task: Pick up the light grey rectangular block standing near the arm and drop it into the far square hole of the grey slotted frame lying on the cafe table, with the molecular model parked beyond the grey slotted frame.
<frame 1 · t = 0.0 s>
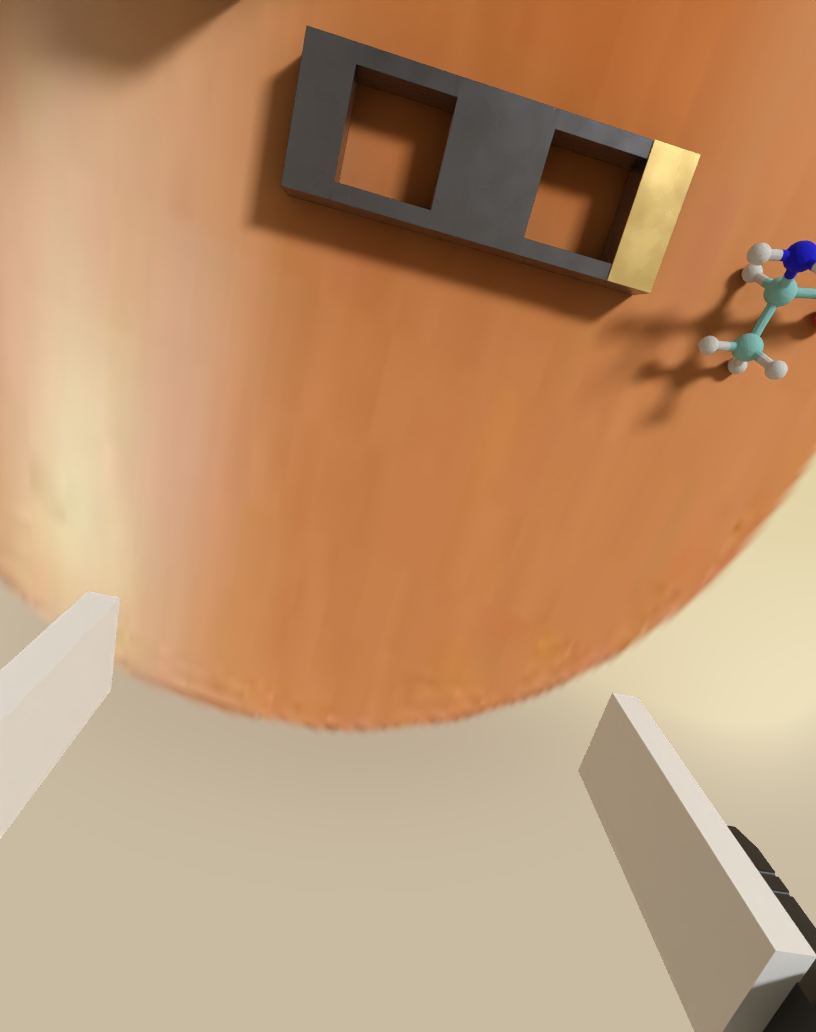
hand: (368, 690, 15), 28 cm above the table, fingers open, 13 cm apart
grey slotted frame: (484, 180, 35), on the table
molecular model: (758, 299, 39), on the table
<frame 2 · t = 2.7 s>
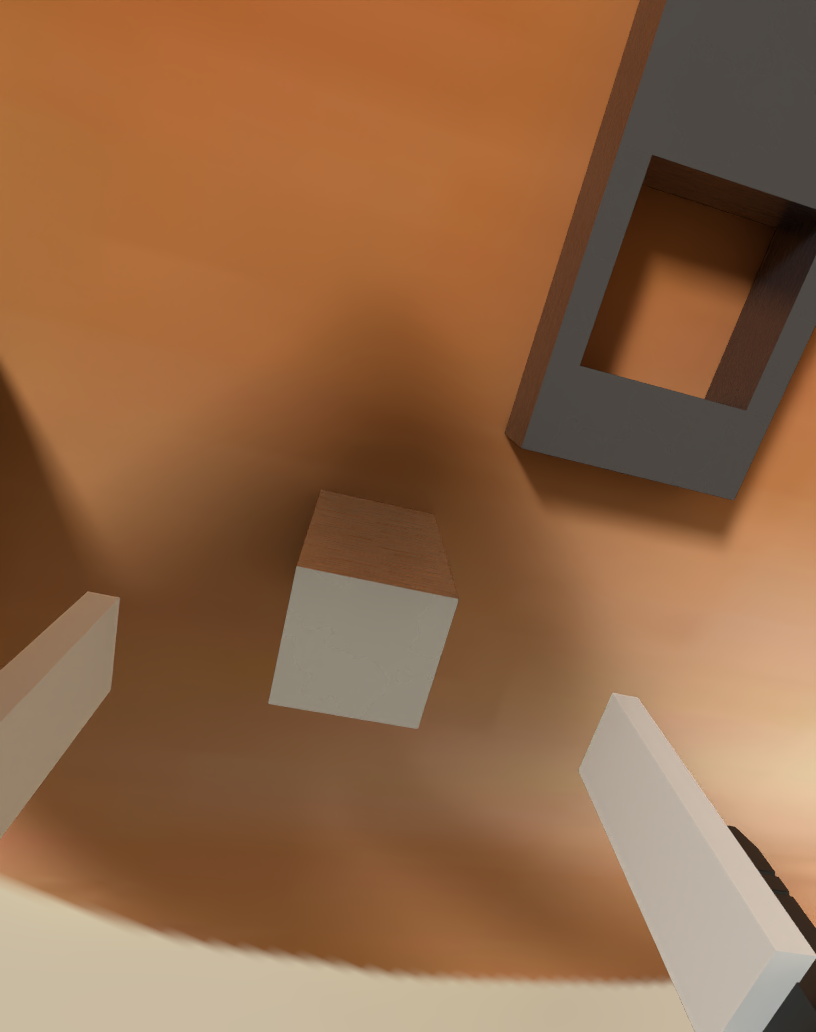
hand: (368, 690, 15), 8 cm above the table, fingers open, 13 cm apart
grey slotted frame: (737, 99, 18), on the table
light grey rectangular block: (365, 553, 22), on the table
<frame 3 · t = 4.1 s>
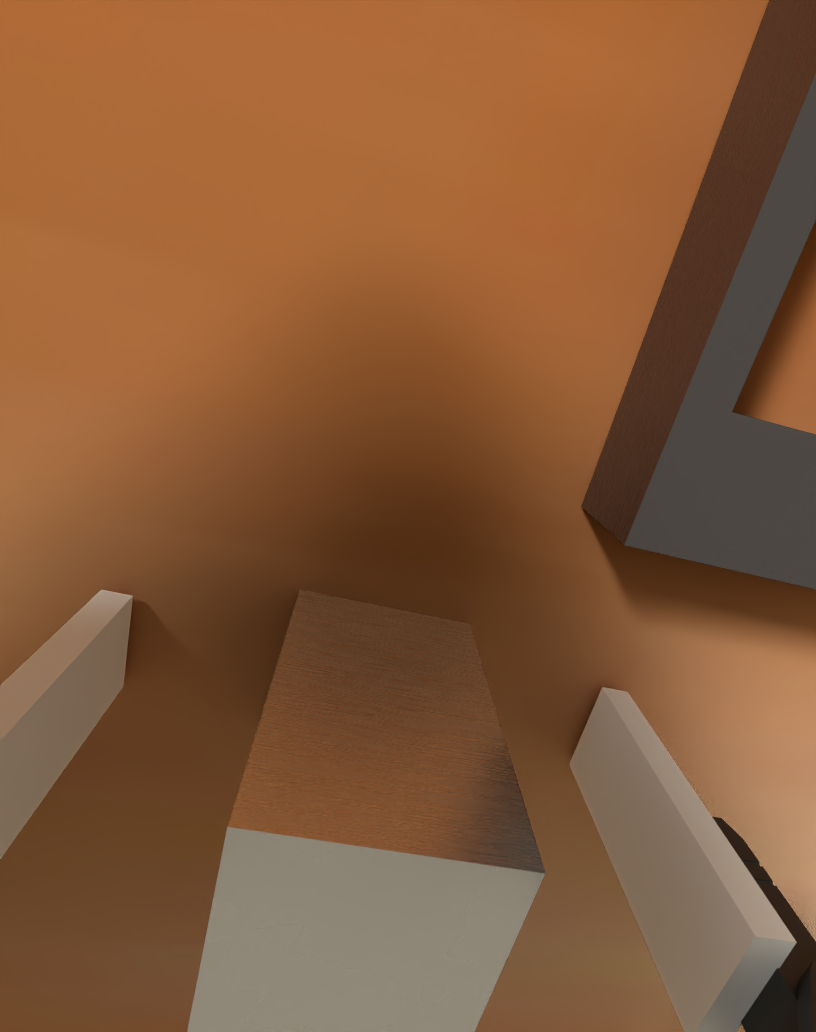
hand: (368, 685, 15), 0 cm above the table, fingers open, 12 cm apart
light grey rectangular block: (367, 678, 15), on the table
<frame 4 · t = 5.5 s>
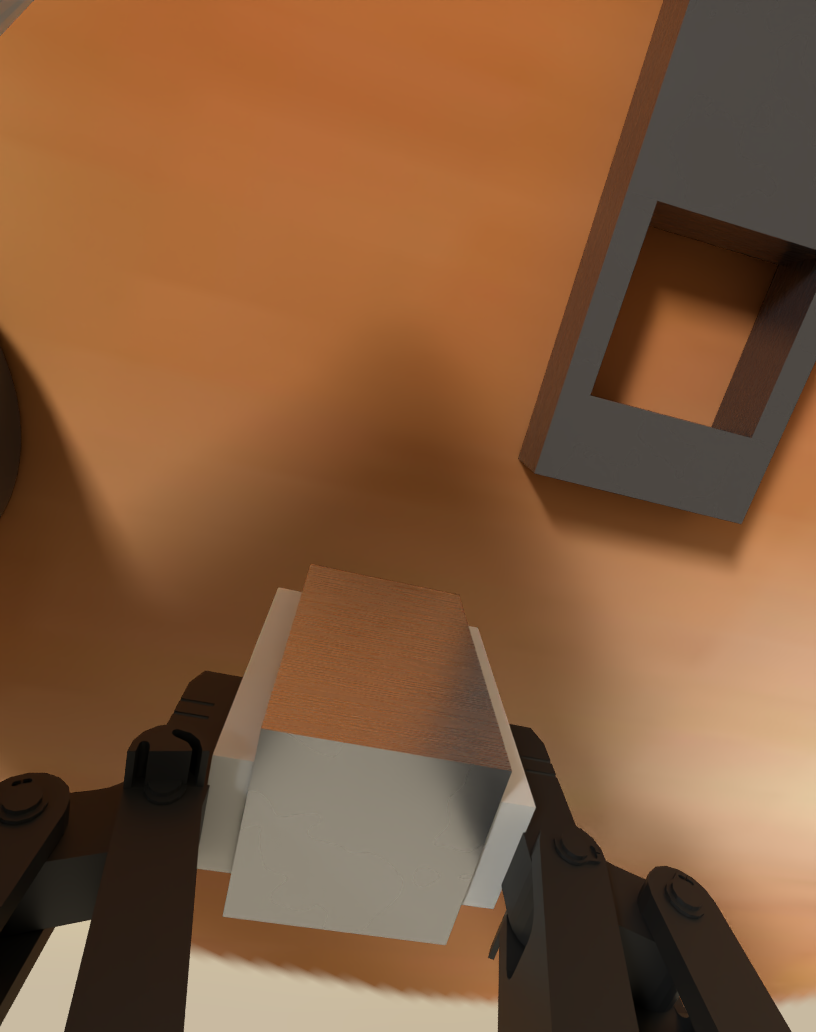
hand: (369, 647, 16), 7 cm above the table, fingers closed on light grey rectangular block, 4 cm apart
grey slotted frame: (738, 146, 19), on the table
light grey rectangular block: (369, 644, 17), point 6 cm above the table, touching gripper
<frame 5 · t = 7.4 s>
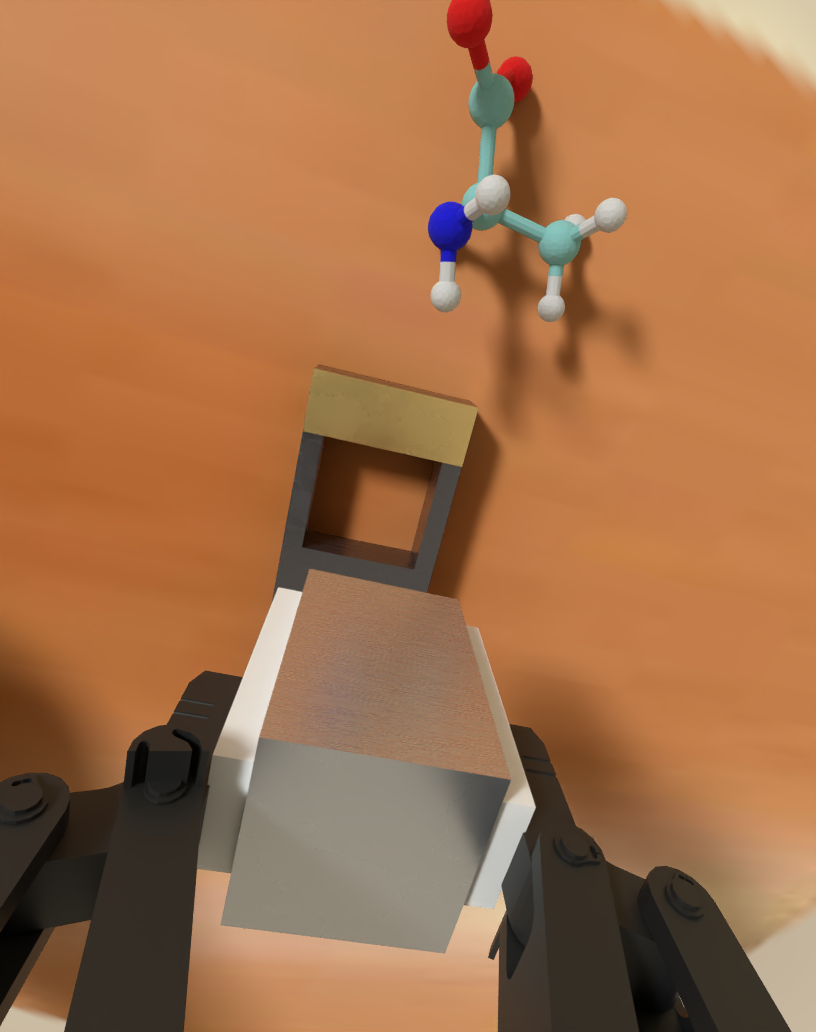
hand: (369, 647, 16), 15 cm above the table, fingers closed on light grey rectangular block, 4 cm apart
grey slotted frame: (349, 587, 32), on the table
molecular model: (479, 204, 26), on the table
light grey rectangular block: (368, 649, 17), point 15 cm above the table, touching gripper
when the fingers open (4 cm above the table, at t = 9.7 s): light grey rectangular block drops 3 cm, resting in grey slotted frame.
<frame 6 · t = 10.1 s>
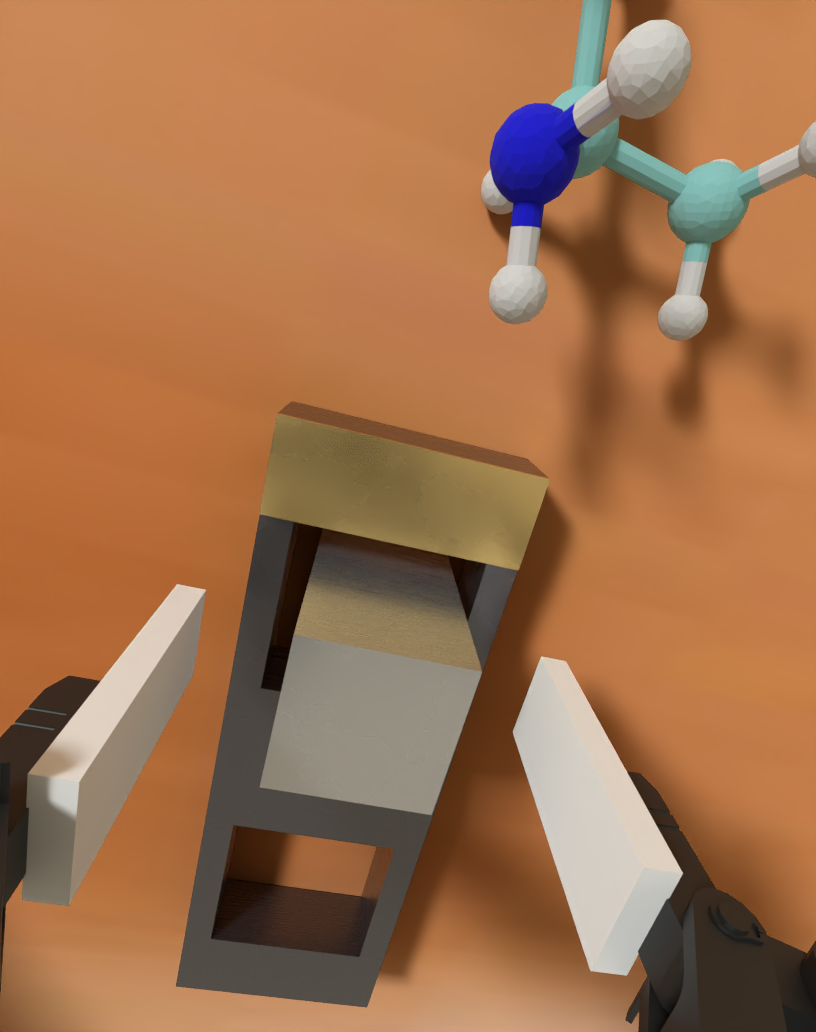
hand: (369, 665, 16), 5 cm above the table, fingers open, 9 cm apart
grey slotted frame: (337, 725, 22), on the table
molecular model: (557, 143, 16), on the table
light grey rectangular block: (371, 597, 20), resting in grey slotted frame
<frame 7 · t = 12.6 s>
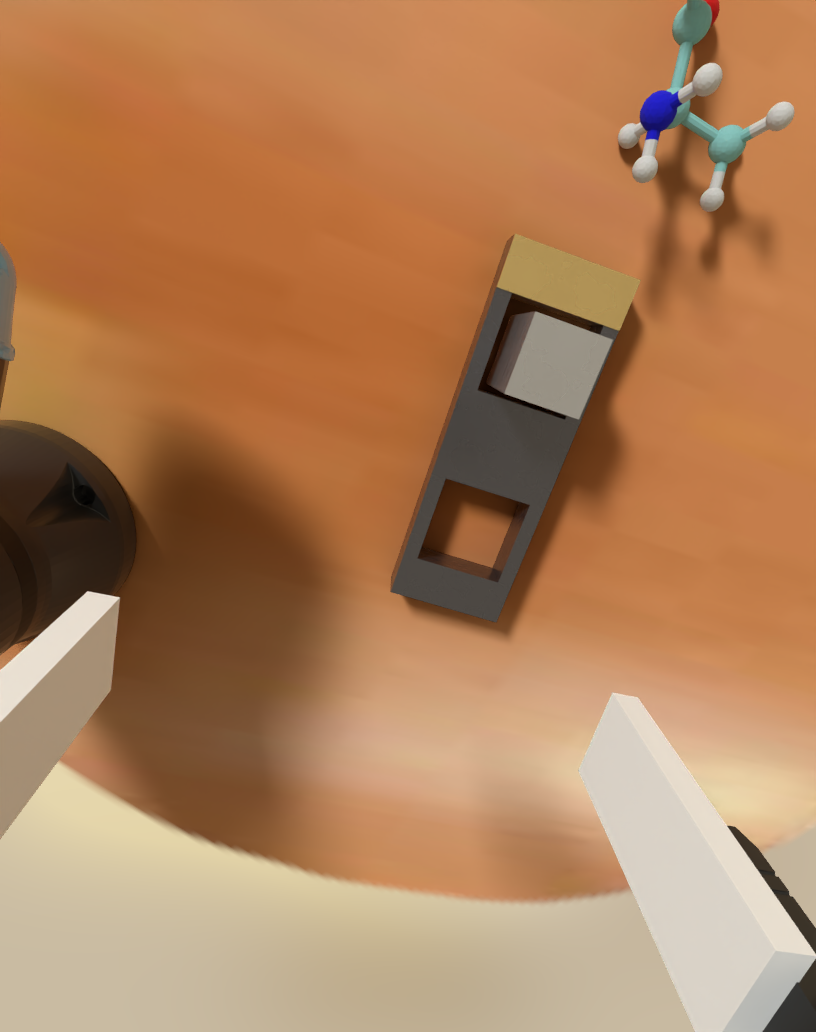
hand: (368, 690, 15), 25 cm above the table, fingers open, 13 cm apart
grey slotted frame: (498, 442, 38), on the table
molecular model: (655, 116, 33), on the table
light grey rectangular block: (529, 361, 37), resting in grey slotted frame
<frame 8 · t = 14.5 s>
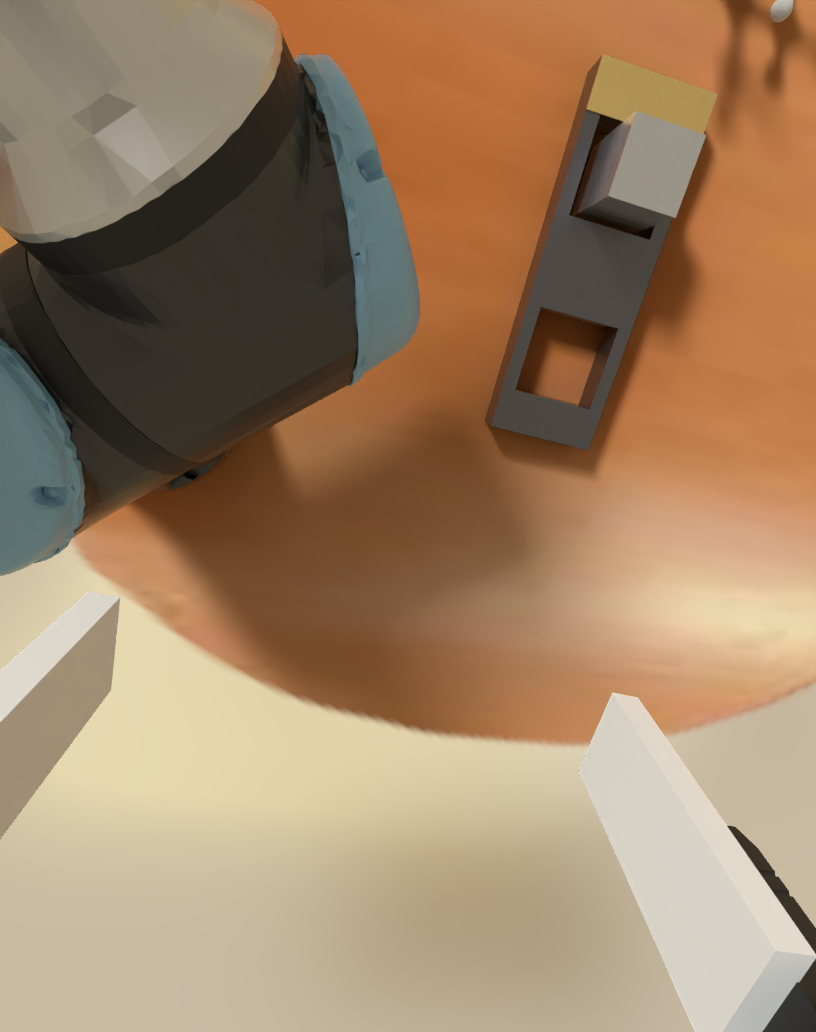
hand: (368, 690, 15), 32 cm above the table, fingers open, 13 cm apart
grey slotted frame: (582, 276, 41), on the table
light grey rectangular block: (610, 192, 39), resting in grey slotted frame
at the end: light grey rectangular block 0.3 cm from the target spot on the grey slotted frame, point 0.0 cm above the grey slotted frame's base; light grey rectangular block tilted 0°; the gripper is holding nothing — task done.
